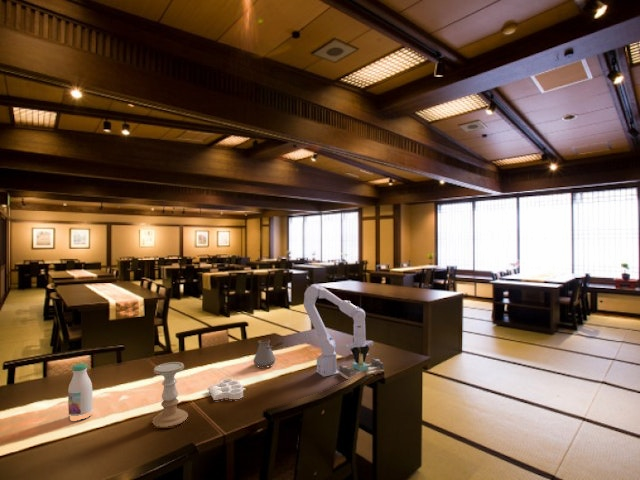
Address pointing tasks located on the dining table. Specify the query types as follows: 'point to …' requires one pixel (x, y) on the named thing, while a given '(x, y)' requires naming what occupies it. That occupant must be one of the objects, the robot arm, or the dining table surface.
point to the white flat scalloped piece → (227, 390)
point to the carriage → (360, 364)
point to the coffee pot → (265, 354)
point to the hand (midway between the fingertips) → (360, 362)
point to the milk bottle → (80, 391)
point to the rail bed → (373, 368)
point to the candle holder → (169, 396)
